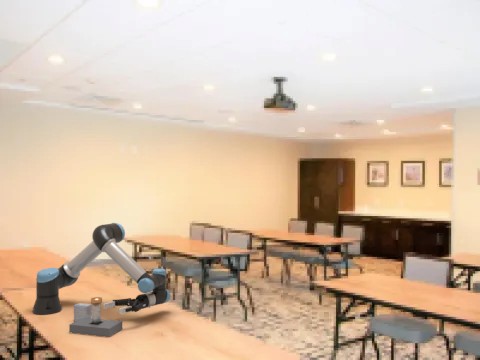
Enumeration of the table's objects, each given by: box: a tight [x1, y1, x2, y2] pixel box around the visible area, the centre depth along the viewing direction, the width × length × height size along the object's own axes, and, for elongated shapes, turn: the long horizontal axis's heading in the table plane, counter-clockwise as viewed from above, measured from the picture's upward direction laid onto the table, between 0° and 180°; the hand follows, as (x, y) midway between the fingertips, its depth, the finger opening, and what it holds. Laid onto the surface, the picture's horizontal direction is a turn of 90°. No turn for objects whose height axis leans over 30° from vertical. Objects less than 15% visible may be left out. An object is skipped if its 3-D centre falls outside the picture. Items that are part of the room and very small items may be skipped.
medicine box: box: [73, 302, 92, 322], centre depth 234 cm, size 8×4×9 cm, turn 74°
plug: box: [90, 296, 103, 325], centre depth 218 cm, size 5×5×16 cm
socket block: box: [68, 317, 124, 338], centre depth 218 cm, size 22×12×4 cm, turn 75°
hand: (111, 309), depth 223 cm, fingers open, 13 cm apart
